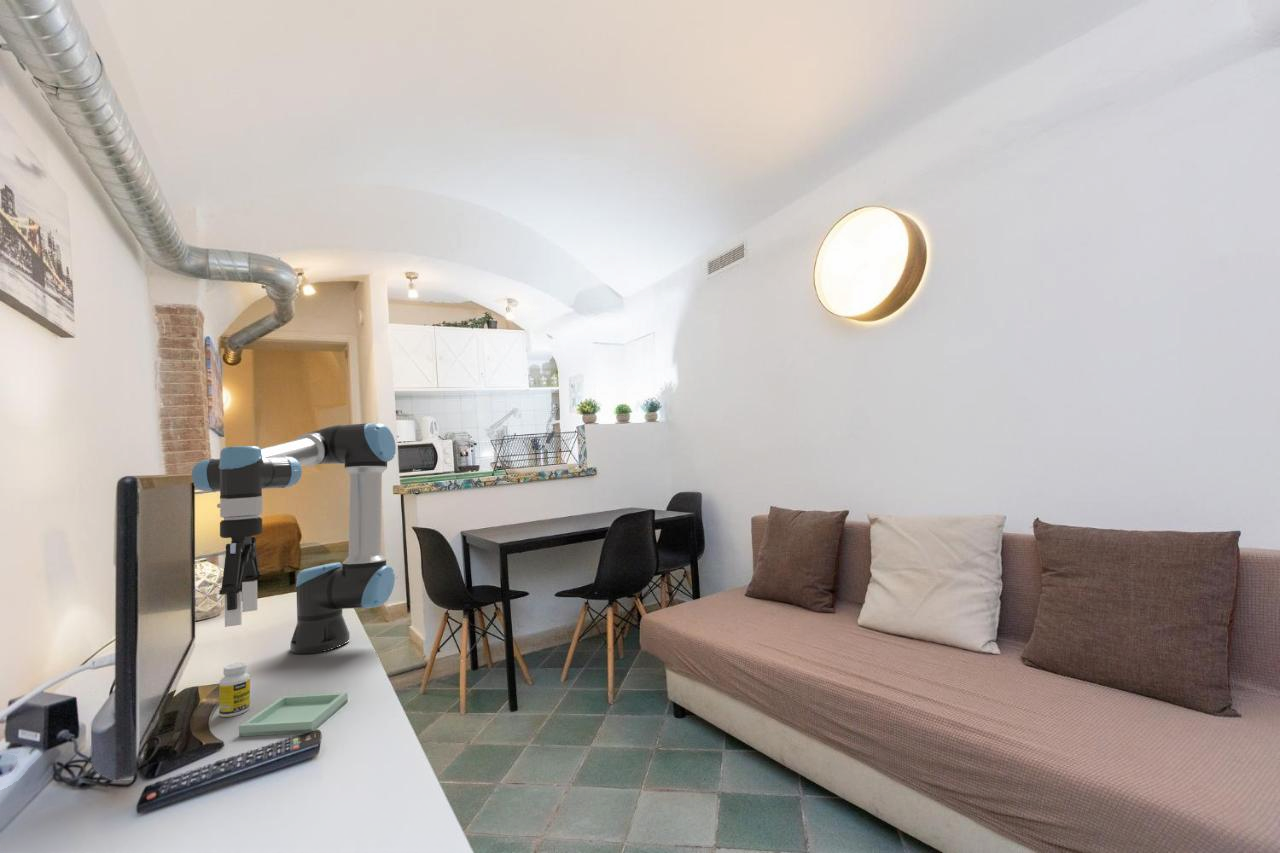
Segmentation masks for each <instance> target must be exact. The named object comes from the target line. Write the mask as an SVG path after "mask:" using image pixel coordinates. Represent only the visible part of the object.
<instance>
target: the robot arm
mask: <svg viewBox="0 0 1280 853" xmlns="http://www.w3.org/2000/svg"><path fill="white" fill-rule="evenodd" d="M396 450H397V449H396V440H395V438H394V435H393V433H392V431H391V430H390V429H389V427H388V426H386V425H385V424H383V423H373V422H367V423H357V424H356V423H355V424H345V425H343V424H341V425H340V424H338V425H332V426H328V427H324V428H320V429H317V430H314V431H310V432H307V433H302V434H300V435H299V436H297V437H296V438H295V439H293V440H289V441H287V442H286V441H285V442H281V443H278V444H273V445H270V446H267V447H262V448H261V447H260V446H257V445H256V446H255V445H237V446H233V445H232V446H226V447H223V448H222V449H221V450H220V453H219V454H220V456H219V458H216V459H215V458H210V459H204V460H200V461H199V462H197V463H195V465H194V466H193V468H192V469H191V470H192V471H191V473H190V476H193V477H194V484H193V486H194V487H195V488H196V489H198V490H199V491H203V492H213V493H215V492H219V503H217V504H216V508H218V509H219V514H220V515H219V517H220V518H222V519H223V520H220V522H219V537H220V538H222V539H229V538H230V539H231V542H230V543H227V544H225V557H224V565H223V566H224V567H223V571H222V573H223V574H222V582H221V588H220V590H219V591H218V592H219V595H221V596H222V595H224V628H228V627H235V626H241V625H242V623H243V618H242V616H243V615H242V614H243V613H246V612H255V611H258V580H262V574H260V573H261V572H260V568H259V560H258V559H259V558H258V552H257V544H256V542H257V538H256V536H259V535H262V534H263V518H262V517H260V515H261V516H262V514H263V490H265V489H285V488H288V487H292V486H294V485H296V484H297V483H298V482H299V481H300V479H301V477H302V467H303V466H306V467H314V466H318V465H328V464H329V465H330V464H332V465H333V464H336V465H337V464H340V465H341V464H344V470H345V471H346V472H347V473H348V474H349V508H348V509H349V514H348V515H349V516H348V517H349V520H348V556H347V557H346V558H345V560H343V562H342V563H341V562H331V563H326V564H323V565H318V566H317V565H316V566H312V567H308V568H305V569H302V570H300V571H299V572H298V573H297V575H296V584H295V588H296V589H295V590H296V626H295V628H294V632H293V635H292V637H291V640H290V644H289V645H290V653H292V654H298V655H308V654H316V653H315V652H317V653H321V652H320V651H323V652H325V651H324V650H328V649H331V648H334V647H337V646H339V645H342V644H344V643H345V642H347V641H348V640H349V639H350V638H351V636H350V631H349V628H348V625H347V623H346V621H345V618H344V615H343V610H346V609H348V610H349V609H365V610H367V609H370V608H371V609H372V608H379V607H382V606H384V604H386V603H387V601H388V600H389V599H390V597H391V595H392V593H393V590H394V586H395V582H396V581H395V579H396V577H395V572H394V569H393V567H391V566H389V565H387V558H386V557H385V556H383V555H382V490H383V488H382V484H383V483H382V481H383V480H382V477H383V473H384V471H386V470H387V469H388V463H389V462H390V461H392V460H393V459H394V458H395V455H396ZM193 477H191V480H192V481H191V482H192V483H193ZM242 580H243V581H242ZM331 650H332V649H331ZM328 651H329V650H328ZM307 653H308V654H307Z"/></svg>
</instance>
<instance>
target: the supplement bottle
mask: <svg viewBox="0 0 1280 853" xmlns="http://www.w3.org/2000/svg"><path fill="white" fill-rule="evenodd" d="M246 671H247V663H246V662H236V663H230V664H228V665H226V666H224V667H223V672H222V673H223V677H221V679H220V680H219V684H218V687H219V688H218V689H219V690H218V692H219V694H218V696H219V697H218V698H219V700H218V701H219V702H218V706H219V707H218V712H219V713H218V714H219V716H220V717H221V718H222V717H223V718H230V717H235V716H239V715H241V714H244V713H246V712H248V711H249V710H250V708H251V675H250V674H249V673H248V672H246Z"/></svg>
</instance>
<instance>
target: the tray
mask: <svg viewBox="0 0 1280 853" xmlns="http://www.w3.org/2000/svg"><path fill="white" fill-rule="evenodd" d="M348 698H349V697H348V692H331V693H330V692H329V693H316V694H302V695H301V694H299V695H298V694H297V695H282V696H281V697H280V698H278V699H277V700H275V701H273V702H272V703H271V704H269V705H268V706H266V707H265V708H263V709H262V710H261V711H258V712H257V713H256V714H254V715H253V716H251V717H250V718H248V719H247V720H245V721H244V722H243V723H241V724H240V725H239V726H238V737H239V738H240V737H254V736H256V737H257V736H270V735H286V734H290V735H291V734H302V733H312V732H311V731H313V730H314V731H315V730H316V729H318V728H319V727H320V726H321V725H322V724H323V723H325V721H327V720H328V719H329V718H331V717H332V716H333V715H334V714H335V713H336V712H338V711H339V710H340V709H341V708H342V707H343V706H345V705H346V704H347V703H348ZM314 731H313V732H314Z"/></svg>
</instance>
